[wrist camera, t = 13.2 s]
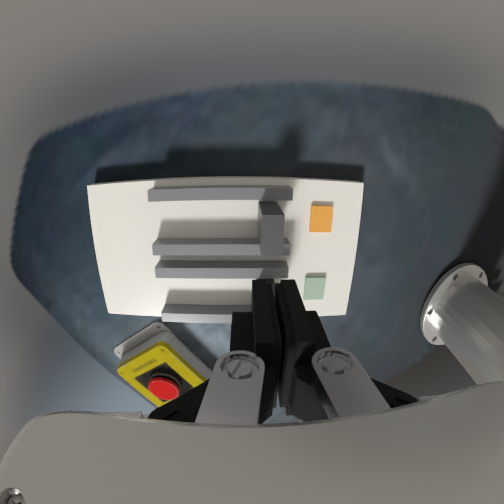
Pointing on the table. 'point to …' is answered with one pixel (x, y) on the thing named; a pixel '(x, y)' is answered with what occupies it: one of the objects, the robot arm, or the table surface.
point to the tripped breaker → (270, 228)
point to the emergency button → (160, 364)
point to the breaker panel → (221, 243)
